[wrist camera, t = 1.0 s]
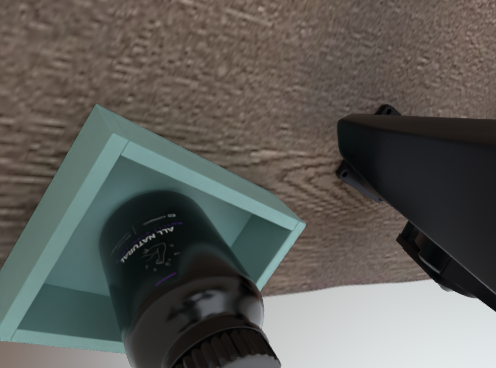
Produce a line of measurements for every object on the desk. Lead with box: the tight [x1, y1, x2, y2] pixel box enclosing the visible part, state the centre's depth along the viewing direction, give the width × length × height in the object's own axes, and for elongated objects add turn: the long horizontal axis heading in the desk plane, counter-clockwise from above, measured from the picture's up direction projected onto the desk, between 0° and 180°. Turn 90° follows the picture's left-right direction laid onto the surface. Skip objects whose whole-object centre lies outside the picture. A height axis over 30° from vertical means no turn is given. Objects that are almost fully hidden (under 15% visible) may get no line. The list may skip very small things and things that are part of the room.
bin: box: [0, 104, 306, 354], centre depth 24 cm, size 14×12×4 cm
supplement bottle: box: [99, 191, 281, 368], centre depth 21 cm, size 7×7×12 cm
